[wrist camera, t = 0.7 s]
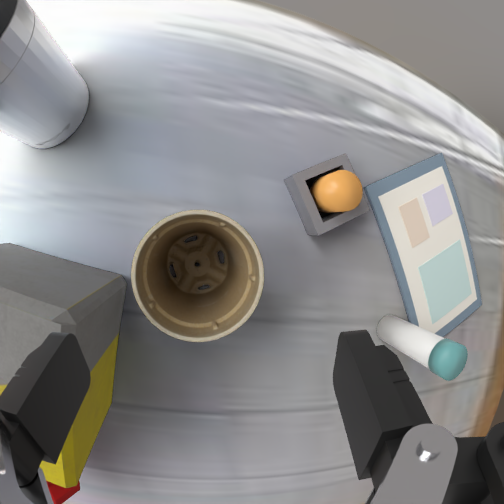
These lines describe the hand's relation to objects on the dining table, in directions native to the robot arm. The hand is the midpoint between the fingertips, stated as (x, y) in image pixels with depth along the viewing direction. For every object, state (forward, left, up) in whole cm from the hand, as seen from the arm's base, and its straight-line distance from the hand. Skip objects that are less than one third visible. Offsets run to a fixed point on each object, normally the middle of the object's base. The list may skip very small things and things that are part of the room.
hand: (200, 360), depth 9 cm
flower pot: (0, 0, -22) cm, 22 cm away
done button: (-1, +14, -21) cm, 25 cm away
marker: (+16, +16, -22) cm, 31 cm away
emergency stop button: (+3, -20, -22) cm, 30 cm away
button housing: (-1, +14, -22) cm, 26 cm away
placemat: (+11, +26, -22) cm, 35 cm away
